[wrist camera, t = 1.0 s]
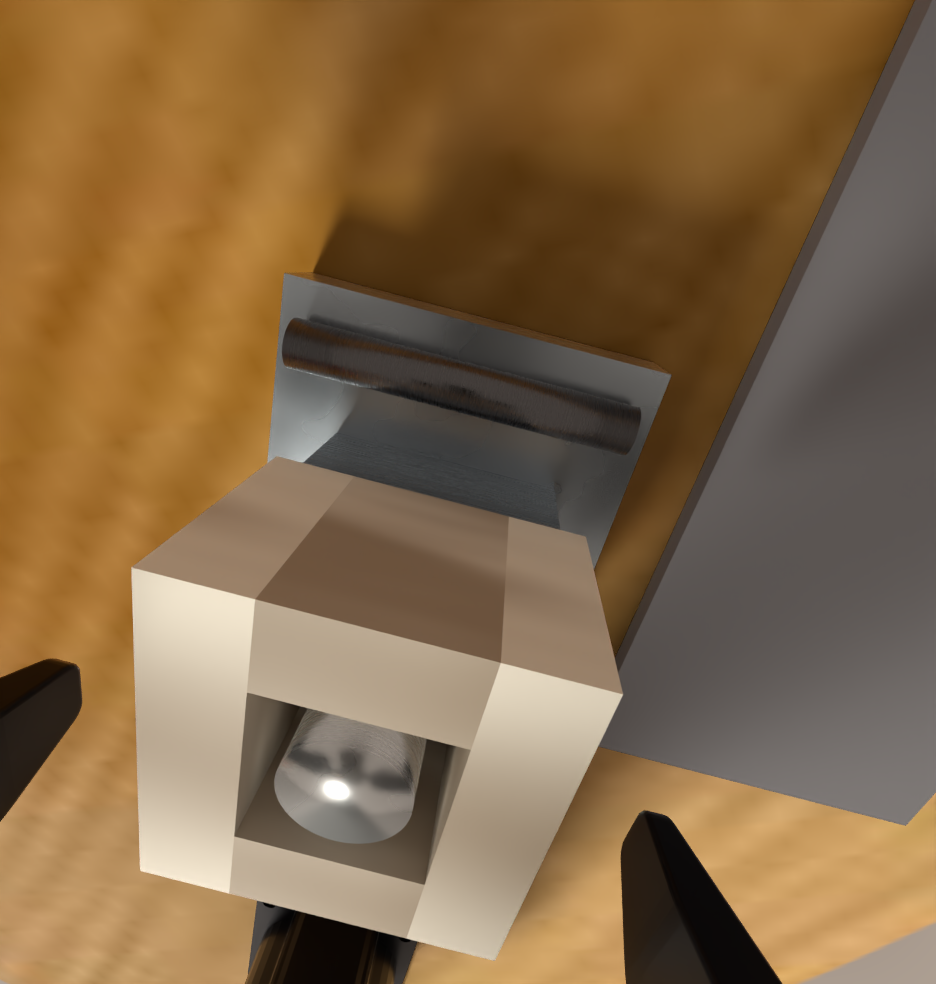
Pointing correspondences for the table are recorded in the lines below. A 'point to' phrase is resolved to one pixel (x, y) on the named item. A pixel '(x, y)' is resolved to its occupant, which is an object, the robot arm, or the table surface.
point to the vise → (439, 472)
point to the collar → (367, 696)
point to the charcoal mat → (817, 507)
